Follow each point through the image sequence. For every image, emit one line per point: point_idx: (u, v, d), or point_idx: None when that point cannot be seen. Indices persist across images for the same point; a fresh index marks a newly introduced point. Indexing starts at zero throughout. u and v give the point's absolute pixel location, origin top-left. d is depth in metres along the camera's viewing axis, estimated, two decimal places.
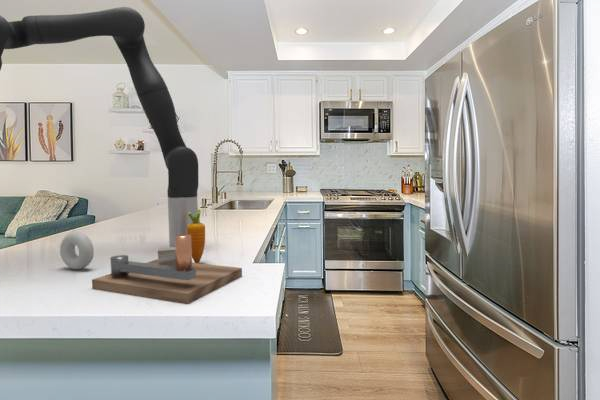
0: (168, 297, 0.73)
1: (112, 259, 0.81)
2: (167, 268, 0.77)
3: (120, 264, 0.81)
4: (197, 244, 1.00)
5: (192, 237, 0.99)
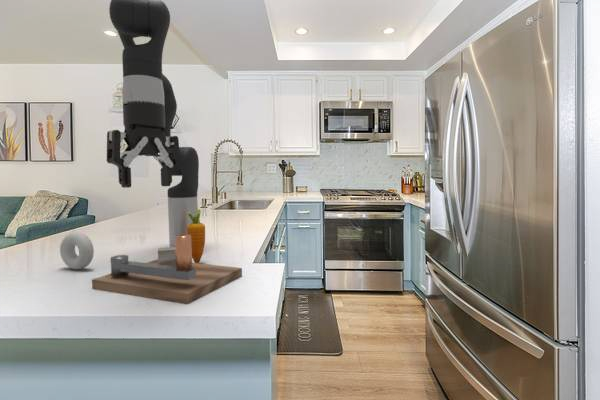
0: (168, 297, 0.73)
1: (112, 259, 0.81)
2: (167, 268, 0.77)
3: (120, 264, 0.81)
4: (197, 244, 1.00)
5: (192, 237, 0.99)
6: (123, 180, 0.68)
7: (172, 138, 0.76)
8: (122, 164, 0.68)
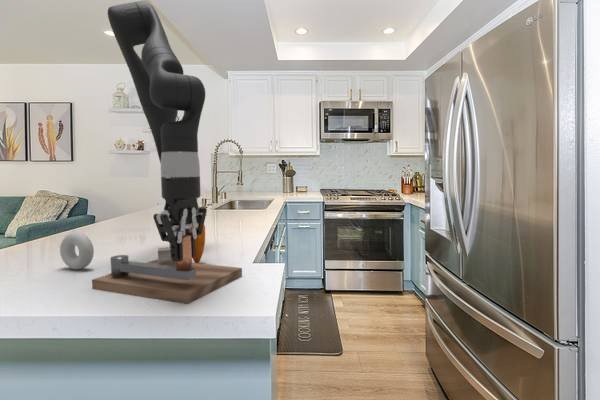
0: (168, 297, 0.73)
1: (112, 259, 0.81)
2: (167, 268, 0.77)
3: (120, 264, 0.81)
4: (197, 244, 1.00)
5: None
6: (176, 255, 0.73)
7: (202, 209, 0.80)
8: (176, 241, 0.73)
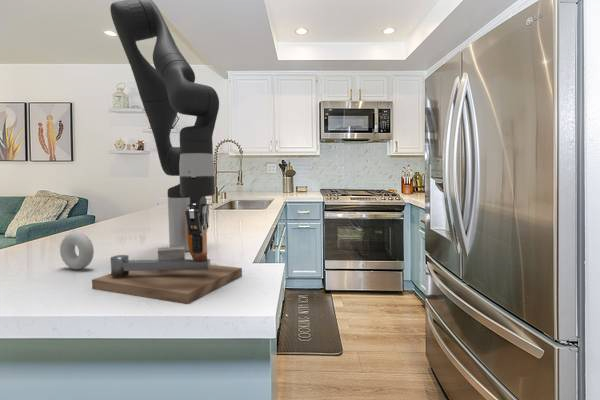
0: (168, 297, 0.73)
1: (115, 259, 0.81)
2: (182, 261, 0.83)
3: (124, 263, 0.82)
4: None
5: None
6: (199, 247, 0.80)
7: None
8: (200, 234, 0.80)
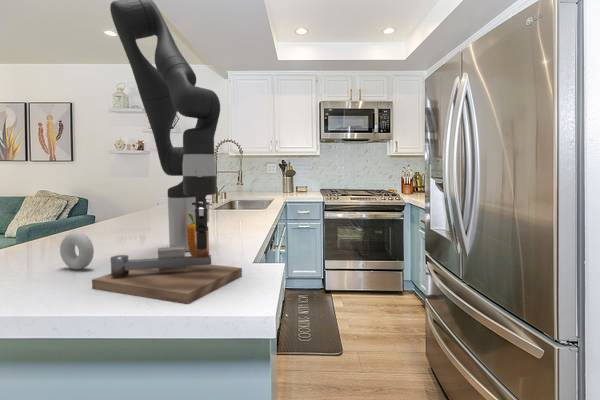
0: (168, 297, 0.73)
1: (117, 259, 0.81)
2: (185, 257, 0.86)
3: (126, 263, 0.82)
4: None
5: (192, 237, 0.99)
6: (204, 243, 0.85)
7: None
8: (205, 231, 0.84)
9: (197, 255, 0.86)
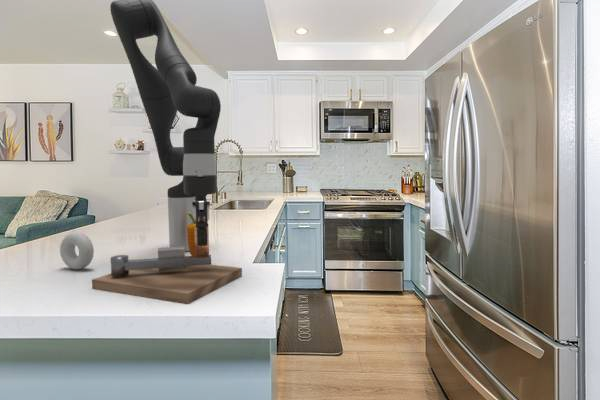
0: (168, 297, 0.73)
1: (117, 259, 0.81)
2: (185, 257, 0.86)
3: (126, 263, 0.82)
4: None
5: (192, 237, 0.99)
6: (205, 240, 0.83)
7: None
8: (205, 227, 0.82)
9: (197, 255, 0.86)
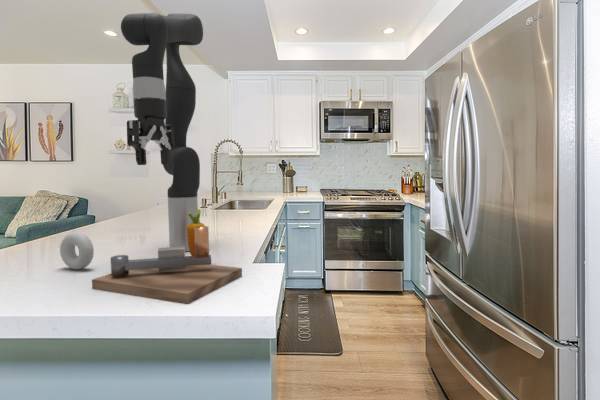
0: (168, 297, 0.73)
1: (117, 259, 0.81)
2: (185, 257, 0.86)
3: (126, 263, 0.82)
4: None
5: (192, 237, 0.99)
6: (140, 159, 0.88)
7: (169, 126, 0.97)
8: (140, 146, 0.87)
9: (197, 255, 0.86)
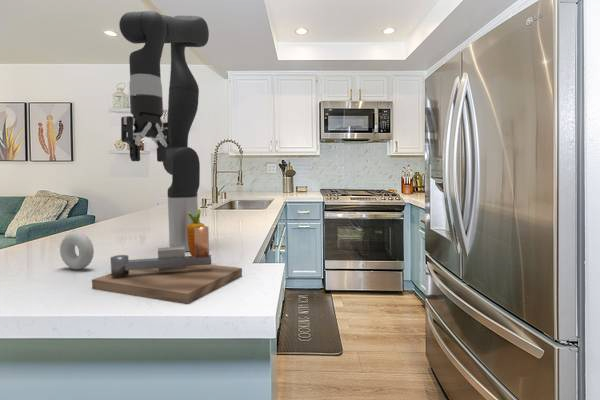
0: (168, 297, 0.73)
1: (117, 259, 0.81)
2: (185, 257, 0.86)
3: (126, 263, 0.82)
4: None
5: (192, 237, 0.99)
6: (134, 155, 0.88)
7: (166, 124, 0.97)
8: (134, 143, 0.87)
9: (197, 255, 0.86)
